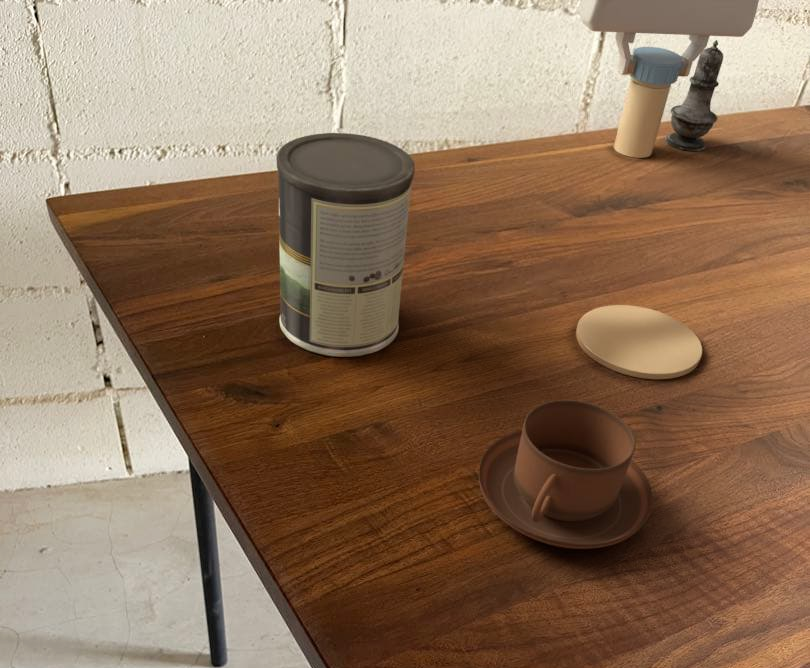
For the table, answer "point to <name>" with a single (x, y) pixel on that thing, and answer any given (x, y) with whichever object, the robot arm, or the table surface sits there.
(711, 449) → the table surface
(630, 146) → the jar
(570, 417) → the cup and saucer
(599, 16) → the robot arm
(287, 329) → the coffee can
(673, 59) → the lid
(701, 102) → the salt shaker
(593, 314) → the coaster
